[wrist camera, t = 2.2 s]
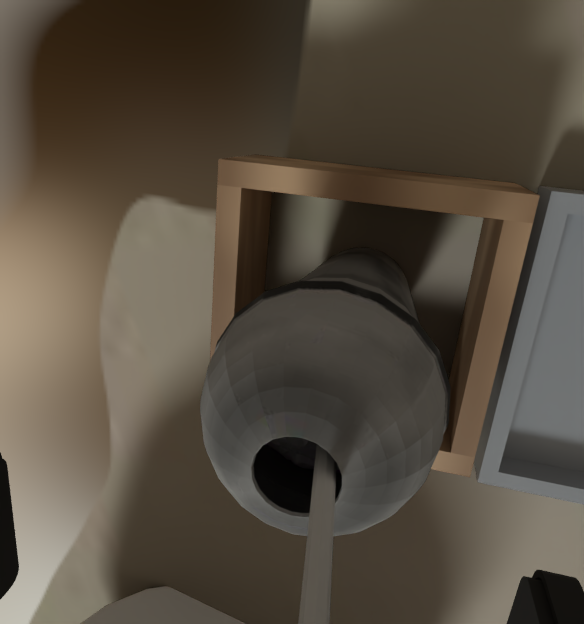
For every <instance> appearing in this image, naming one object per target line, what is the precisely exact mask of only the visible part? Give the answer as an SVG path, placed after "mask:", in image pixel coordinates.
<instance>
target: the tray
mask: <svg viewBox="0 0 584 624" xmlns="http://www.w3.org/2000/svg"><path fill="white" fill-rule="evenodd" d="M537 194H538V195H540V197H539V201H538V205H537V209H536V213H535V217H534V221H533V225H532V229H531V233H530V237H529V241H528V245H527V249H526V253H525V257H524V261H523V265H522V269H521V273H520V278H519V282H518V286H517V290H516V294H515V298H514V302H513V306H512V310H511V314H510V318H509V322H508V326H507V330H506V334H505V338H504V342H503V346H502V350H501V354H500V358H499V362H498V366H497V370H496V374H495V378H494V382H493V386H492V390H491V394H490V398H489V402H488V406H487V410H486V415H485V419H484V423H483V427H482V431H481V435H480V439H479V443H478V447H477V451H476V455H475V459H474V465H475V471H476V476H477V482H479V483H484V484H488V485H493V486H498V487H503V488H508V489H512V490H517V491H522V492H527V493H531V494H536V495H541V496H546V497H551V498H555V499H560V500H565V501H570V502H574V503H579V504H584V191H582V190H573V189H564V188H554V187H545V186H539V189H538V193H537Z"/></svg>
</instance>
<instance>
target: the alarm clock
mask: <svg viewBox="0 0 584 624" xmlns="http://www.w3.org/2000/svg"><path fill="white" fill-rule="evenodd" d="M80 624H245V623H243V622H241V621H239V620H237V619H235V618H233V617H231V616H229V615H227V614H225V613H223V612H221V611H218V610H216V609H214V608H212V607H210V606H208V605H206V604H204V603H202V602H200V601H198V600H196V599H194V598H192V597H189V596H187V595H185V594H183V593H181V592H179V591H177V590H175V589H173V588H171V587H167V586H164V587H157V588H151V589H146V590H143V591H141V592H138V593H136V594H133V595H131V596H128V597H126V598H123V599H121V600H118V601H116V602H113V603H111V604H108V605H106V606H104V607H103V608H102V609H100V610H99V611H97V612H96V613H95V614H93V615H92V616H90V617H89V618H88V619H86V620H85V621H83V622H82V623H80Z"/></svg>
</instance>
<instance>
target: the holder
mask: <svg viewBox="0 0 584 624" xmlns="http://www.w3.org/2000/svg"><path fill="white" fill-rule="evenodd" d="M272 192H280V193H288V194H297V195H305V196H313V197H321V198H329V199H337V200H345V201H354V202H362V203H370V204H378V205H386V206H394V207H403V208H411V209H419V210H427V211H435V212H443V213H452V214H460V215H468V216H476V217H484V220H483V224H482V229H481V234H480V238H479V243H478V247H477V252H476V257H475V261H474V266H473V271H472V275H471V280H470V285H469V289H468V294H467V298H466V303H465V308H464V312H463V317H462V322H461V326H460V331H459V336H458V340H457V345H456V349H455V354H454V359H453V363H452V368H451V373H450V377H449V383H450V387H451V389H450V408H449V423H448V426H447V428H446V430H445V432H444V435H443V441H442V444H441V447H440V449H439V452H438V454H437V456H436V458H435V461H434V463H433V465H432V467H431V469H433V470H438V471H443V472H448V473H452V474H457V475H462V476H467V477H470V475H471V471H472V467H473V463H474V459H475V455H476V451H477V447H478V443H479V439H480V435H481V431H482V427H483V423H484V419H485V415H486V410H487V406H488V402H489V398H490V394H491V390H492V386H493V382H494V378H495V374H496V370H497V366H498V362H499V358H500V354H501V350H502V346H503V342H504V338H505V334H506V330H507V326H508V322H509V318H510V314H511V310H512V306H513V302H514V298H515V294H516V290H517V286H518V282H519V278H520V273H521V269H522V265H523V261H524V257H525V253H526V249H527V245H528V241H529V237H530V233H531V229H532V225H533V221H534V217H535V213H536V209H537V205H538V201H539V197H540V195H538V194H536V193H534V192H532V191H530V190H528V189H526V188H524V187H522V186H520V185H518V184H516V183H509V182H500V181H491V180H482V179H473V178H464V177H455V176H446V175H437V174H427V173H418V172H409V171H400V170H391V169H382V168H373V167H364V166H355V165H346V164H337V163H328V162H319V161H309V160H300V159H291V158H282V157H273V156H264V155H248V156H239V157H231V158H222V159H219V163H218V186H217V209H216V232H215V256H214V279H213V303H212V326H211V350H210V360H211V357H212V356H213V354H214V352H215V348H216V344H217V341H218V340H219V338H220V337H221V335H222V334H223V332H224V331H225V329H226V327H227V326H228V324H229V323H230V321H231V320H232V318H233V317H234V315H235V314H236V313H237V312H238V311H240V310H241V309H242V308H244V307H245V306H246V305H248V304H249V303H250V302H252V301H253V300H254V299H256V298H257V297H258V296H260V295H261V294H262V293H264V291H265V278H266V265H267V252H268V239H269V226H270V213H271V200H272Z"/></svg>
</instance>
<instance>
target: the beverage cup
mask: <svg viewBox="0 0 584 624" xmlns="http://www.w3.org/2000/svg"><path fill="white" fill-rule="evenodd" d="M450 389H451V387H450V383H449V380H448V377H447V374H446V371H445V367H444V364H443V361H442V358H441V355H440V351H439V350H438V348H437V347H436V346H435V344H434V343H433V342H432V340H431V339H430V338H429V336H428V335H427V333H426V332H425V331H424V329H423V328H422V327H421V325H420V324H419V321H418V317H417V313H416V310H415V306H414V302H413V299H412V295H411V292H410V289H409V285H408V282H407V279H406V277H405V276H404V273H403V271H402V270H401V269H400V267H399V266H398V265H397V263H396V262H395V261H394V260H393V259H392V258H390V257H389V256H387V255H386V254H385V253H383V252H381V251H377V250H374V249H371V248H352V249H349V250H346V251H343V252H340V253H339V254H337V255H334V256H333V257H331V258H330V259H328V260H327V261H326V262H324V263H323V264H322V265H320V266H319V267H318V268H316V269H315V270H314V271H312V272H311V273H310V274H308V275H307V276H306V277H304V278H303V279H302V280H300V281H298V282H295V283H292V284H288V285H285V286H282V287H279V288H276V289H272V290H269V291H266V292H264V293H262V294H261V295H260V296H258V297H257V298H256V299H254V300H253V301H252V302H250V303H249V304H248V305H246V306H245V307H244V308H242V309H241V310H240V311H238V312H237V313H236V314H235V315H234V317H233V318H232V320H231V321H230V323H229V324H228V326H227V327H226V329H225V331H224V332H223V334H222V335H221V337H220V338H219V340H218V341H217V344H216V348H215V352H214V354H213V356H212V357H211V360H210V363H209V366H208V370H207V374H206V378H205V382H204V387H203V391H202V395H201V402H200V413H201V422H202V431H203V440H204V444H205V448H206V451H207V454H208V456H209V458H210V460H211V463H212V465H213V467H214V469H215V471H216V474H217V476H218V478H219V480H220V481H221V482H222V484H223V485H224V486H225V487H226V488H227V490H228V491H229V492H230V493H231V494H232V496H233V497H234V498H235V499H236V500H237V502H238V503H239V504H240V505H241V506H242V507H243V508H244V509H246V510H247V511H249V512H250V513H251V514H253V515H254V516H256V517H257V518H258V519H260V520H261V521H263V522H264V523H266V524H268V525H271V526H273V527H276V528H278V529H281V530H283V531H286V532H288V533H291V534H295V535H303V536H307V543H306V553H305V563H304V572H303V582H302V592H301V602H300V611H299V621H298V624H330V602H331V580H332V557H333V536H339V535H346V534H352V533H358V532H360V531H363V530H365V529H367V528H369V527H371V526H373V525H375V524H377V523H379V522H381V521H384V520H386V519H387V518H389V517H390V516H392V515H393V514H395V513H396V512H397V511H398V510H399V509H400V508H401V507H402V506H403V505H404V504H405V503H406V502H407V501H408V500H409V499H410V498H411V497H412V496H413V495H414V494H415V493H416V492H417V491H418V490H419V489H420V487H421V486H422V485H423V484H424V482H425V481H426V478H427V476H428V474H429V472H430V470H431V467H432V465H433V463H434V461H435V458H436V456H437V454H438V452H439V449H440V447H441V444H442V441H443V435H444V432H445V430H446V428H447V426H448V423H449V408H450Z"/></svg>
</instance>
